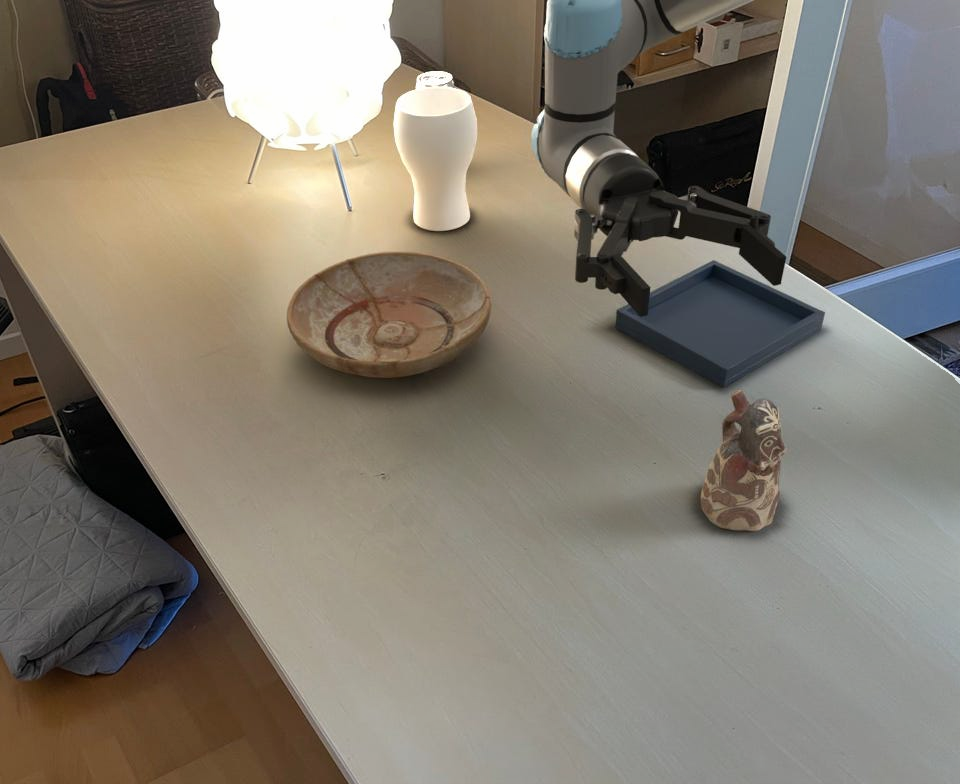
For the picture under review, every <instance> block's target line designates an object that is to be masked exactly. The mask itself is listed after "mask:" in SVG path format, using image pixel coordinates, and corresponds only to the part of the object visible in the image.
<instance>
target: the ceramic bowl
mask: <svg viewBox="0 0 960 784" xmlns="http://www.w3.org/2000/svg"><path fill="white" fill-rule="evenodd" d="M491 312H492V301H491V295H490V292H489V289H488V287H487V286H486V284H485V283H484V281H483V280H482V278H481V277H480V276H479V275H477V274H476V273H475V272H474V271H473V270H471V269H470V268H468V267H466V266H465V265H463V264H461V263H459V262H457V261H454V260H452V259H450V258H445V257H442V256H439V255H434V254H430V253H426V252H425V253H424V252H416V251H402V250H401V251H379V252H373V253H367V254H362V255H358V256H355V257H352V258H347V259H345V260H342V261H339V262H336V263H334V264H332V265H330V266H328V267H326V268H324V269H322V270H320V271H318V272H316V273H315V274H313V275H312V276H310V277H309V278H307V280H305V281H304V282H303V283H302V284H301V285H300V286H299V287H298V288H297V289H296V291H294V293H293V294H292V297H291V298H290V300H289V303H288V306H287V310H286V322H287V323H286V324H287V328H288V331H289V333H290V334H291V336H292V338H293V339H292V340H293V341H295V343H296V344H297V345H298V347H299V348H300V349H301V350H303V351H304V352H305V353H306V354H307V355H308V356H309V357H311V358H312V359H313V360H315V361H317V362H319V363H320V364H321V365H323V366H326V367H328V368H331V369H333V370H336V371H340V372H343V373H347V374H351V375H357V376H361V377H367V378H379V379H381V378H387V379H388V378H401V377H409V376H414V375H418V374H421V373H425V372H428V371H431V370H434V369H436V368H439V367H441V366H444V365H446V364H449V363H451V362H452V361H454V360H455V359H457V358H458V357H460V356H462V354H464V353H465V352H466V351H467V350H469V349H471V347H472V346H473V344H475V343H476V342H477V340H478V339H479V338H480V337H481V335H482V334H483V332H484V331H485V330H486V327H487V325H488V323H489V320H490V317H491Z"/></svg>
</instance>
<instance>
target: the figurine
mask: <svg viewBox="0 0 960 784" xmlns="http://www.w3.org/2000/svg"><path fill="white" fill-rule="evenodd" d="M730 398H731V402H732V403H733V406H734V410H733V411H731V412H730V413H728V414H727V416H726V417H725V418H724V419H723V421H722V423H721V429H722V430H721V431H722V434H721V435H722V442H721V444H720V445H719V447H718V449H717V451H716V452H715V454H714V456H713V458H712V460H711V463H710V465H709V467H708V469H707V472H706V475H705V478H704V482H703V484H702V487H701V491H700V505H701V511H702V512H703V514H704V515H705V517H706V518H707V519H708V521H709V522H710V523H712V524H713V525H715V526H716V527H719V528H720V529H726V530H732V531H750V532H757V531H760V530H761V529H763V528H764V527H767V526H769V525H771V524H772V523H773V519H774V516H775V514H776V509H777V506H778V503H779V500H780V477H781V476H780V475H781V465H782V456H784V455H785V454H786V453H787V446H785V445H784V442H783V439H782V423H781V412H780V408H779V407H778V406H777V405H776V404H774V403H773V402H772V401H771V400H769V399H767V398H759V399H756V400H755V401H753V403H749V401H748V399H747V397H746V394H745V393H744V390H742V389H738V390H735V391H734V392H733V393H731V396H730ZM736 424H738V425H739V426H740V430H739V428H737V426H736Z"/></svg>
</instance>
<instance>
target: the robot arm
mask: <svg viewBox="0 0 960 784" xmlns="http://www.w3.org/2000/svg"><path fill="white" fill-rule="evenodd" d="M753 1H755V0H547V2H546V16H545V17H546V18H545V25H544V31H543V37H544V39H543V40H544V107H543V110H542V111H541V112H540V113H539V115H538V116H537V118H536V121H535V123H534V125H533V128H532V130H531V134H530V135H531V136H530V143H531V148H532V149H531V150H532V152H533V155H534V157H535V159H536V160H537V162H538V163H539V165H540V166H541V169H542V170H543V172H544V174H546V177H548V178H550V179H551V180H552V181H553V182H555V183H556V184H557V185H558V187H559V188H561V190H562V191H563V192H564V193H565V194H566V195H568V197H569V198H570V199H571V200H572V201H573V202H574V203H575V204H576V205H577V207H579V208H577V209H576V210H575V211H574V229H573V235H574V238H575V239H576V241H577V244H576V253H575V274H574V275H575V276H574V281H575V282H577V283H579V284H583V283H587V282H588V281H589V279H591V278H594V280H595V282H594V288H595V289H597V290H600V291H601V290H608V291H609V292H610V293H612V294H614V295H618V294H619V295H620V296H621V297H622V298H623V299H624V301H625V302H626V303H627V304H629V305H630V306H631V307H632V308H633V309H634V311H635V312H636V313H637V314H638V315H639V316H640V317H642V316H647V315H648V308H649V298H650V292H651V286H650V285H649V284H648V283H647V282H646V281H645V280H644V279H643V278H642V277H641V276H640V274H639V273H638V272H637V271H636V270H635V269H634V267H632V266H631V265H630V264H629V263H628V262H627V260H626V259H625V258H624V257H623V254H624V253H625V252H626V253H627V251H628V249H629V248H630V245H631V244H632V243H634V241H638V242H644V241H648V240H650V239H652V238H663V237H665V238H666V237H667V238H671V239H675V240H684V239H685V238H686V237H688V238H692V239H697V240H701V241H706V242H710V243H714V244H719V245H724V246H728V247H733V248H737V249H739V250H738V255H739V256H740V257H741V258H742V259H744V260H745V262H746V263H748V264H749V265H750V266H751V267H752V268H753V269H755V271H757V272H758V274H760V275H761V276H762V277H763V278H764V279H765V280H766V281H767V282H768V283H769V284H771V285H772V286H773V287H776V286H779V285H782V281H783V276H784V272H785V265H786V262H787V261H786V260H787V256H786V255H785V254H784V253H783V252H782V251H780V250H779V248H777V247H776V244H775V243H776V242H775V241H773V240H772V239H771V238H770V237H769V236H768V235H769V231H770V225H771V219H772V218H771V217H772V216H771V214H768V213H766V212H763V211H760V210H758V209H754V208H752V207H749V206H746V205H744V204H740V203H737V202H734V201H732V200H729V199H726V198H723V197H720V196H717V195H715V194H711V193H710V192H708V191H706V190H705V189H703V188H702V187H700V186H699V185H691V186H689V187H688V191H687V194H686V195H683V196H680V197H678V196H677V195H675V194H673V193H670V192H668V191H666V190H665V187H664V185H663V182H662V181H661V178H660V177H659V175H658V173H657V172H656V171H655V170H654V169H652V167H650V166H649V165H648V164H647V163H646V162H645V161H644V160H643V159H641V158H640V156H638V154H636V152H635V151H633V150H632V149H631V147H629V146H628V145H626V144H625V143H624V142H623V141H622V140H621V139H619V138H618V137H617V136H616V135H615V134H614V127H615V115H616V114H615V112H616V111H615V110H616V102H617V88H618V87H617V86H618V75H619V73H621V71H623V70H624V69H625V68H626V67H627V66H628V65H629V64H631V63H632V62H633V61H635V60H636V59H637V58H638V57H639V56H641V55H642V54H643V53H644V52H646V51H647V50H649V49H651V48H653V47H655V46H657V45H659V44H661V43H664V42H667V41H668V40H670V39H672V38H675V37H677V36H679V35H681V34H683V33H685V32H686V31H688V30H691V29H693V28H696V27H698V26H700V25H702V24H704V23H706V22H709V21H711V20H714V19H715V18H717V17H720V16H722V15H724V14H726V13H729V12H731V11H733V10H736V9H737V8H741V7H742V6H744V5H747V4H749V3H752V2H753ZM678 215H679V221H678V227H675V224H676V221H677V219H678ZM598 230H599V231H600V232H601V233H602V234H604V235H605V236H606V237H605V240H604V241H603V243H602V245H601V247H600V248H599V249H598V252H597V254H596V256H591V253H592V242H593V241H592V240H594V239H595V234H597V233H598Z"/></svg>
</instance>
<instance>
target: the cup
mask: <svg viewBox="0 0 960 784" xmlns="http://www.w3.org/2000/svg"><path fill="white" fill-rule="evenodd" d="M476 115H477V114H476V112H475V108H474V104H473V100H472V97H471V95H470V94H469V93H467V92H466V91H464V90H462V89H459V88H455V87H454V88H450V87H427V88H421V89H416V88H415V89H413V90H410V91H407V92H406V93H404V94H402V95H401V96H400V97H398V99H397V101H396V102H395V109H394V118H393V131H394V142H395V145H396V148H397V151H398V154H399V156H400V159H401V161H402V163H403V165H404V167H405V169H406V170H407V171H408V173H409V174H410V177H411V181H412V185H413V189H414V203H413V222H414V224H415V225H416V226H417V227H419V228H421V229H423V230H426V231H433V232H445V231H450V230H455V229H458V228H460V227H462V226H464V225H466V224H467V223H468V222H469V221H470V219H471V211H470V206H469V202H468V201H469V200H468V196H467V193H466V184H467V183H466V182H467V172H468V169H469V167H470V164H471V162H472V160H473V159H474V153H475V149H476V144H477V141H478V119H477V116H476Z"/></svg>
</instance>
